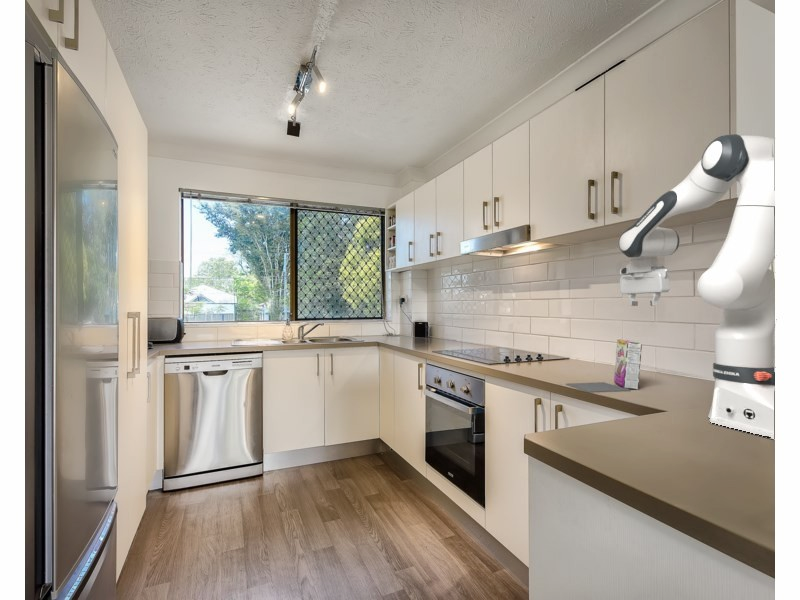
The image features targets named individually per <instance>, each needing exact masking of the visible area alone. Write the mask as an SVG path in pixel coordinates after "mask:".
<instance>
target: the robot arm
mask: <svg viewBox="0 0 800 600" xmlns="http://www.w3.org/2000/svg"><path fill="white" fill-rule="evenodd" d="M736 182H737V183H739V184H740V191H739V192H740V193H739V196H738V198H737V202H736V204H735V208H734V212H733V215H732V218H731V221H730V225H729V229H728V233H727V236H726V238H725V240H724V242H723V243H722V244H723V245H722V246H721V248H720V250H719V251H718V254H717V255H716V257H715V259H714V260H713V262H712V264H711V266H709V268H708V269H707V270H706V271H704V272H703V273H702V274H701V275H700V276H699V279H698V281H697V287H696V288H697V293H698V295H699V297H700V298H701V299H702V300H703V301H704V302H706V303H707V304H709V305H711V306H714V307H716V308H719V309H723V312H722V317H721V320H720V323H719V325H718V327H717V328H716V329H715V332H714V362H713V363H712V376H713V378H714V386H713V393H712V402H711V404H710V405H711V406H710V410H709V413H708V415H707V417H709V418H710V419H709V418H708V419H709V421H710V422H711V423H710V422H709V423H710V424H712V423H715V424H714V425H716V424H718V425H717V426H720V425H722V426H721V427H723V426H726V427H725V428H727V427H729V428H728V429H731V428H734V429H733V430H735V429H738V430H737V431H739V430H742V431H741V432H743V431H746V432H745V433H747V432H750V433H749V434H751V433H753V434H752V435H755V434H759V435H762V436H761V437H763V436H769V437H771V438H770V439H772V440H775V439H774V388H775V372H774V367H775V365H774V364H775V361H774V360H775V358H774V357H775V356H774V355H775V351H774V350H775V349H774V348H775V347H774V346H775V345H774V343H775V342H774V337H775V336H774V335H775V329H774V328H776V324H775V317H774V313H775V311H774V310H775V309H774V304H775V298H774V286H775V279H774V272H775V271H773V270H772V269H769V268H770V267H771V265H772V263H773V262H774V260H775V258H774V256H775V253H774V207H775V191H774V137H767V136H765V135H763V136H762V135H749V134H748V135H746V134H745V135H744V134H743V135H739V134H726V135H725V134H724V135H721V136H718V137H716V138H715V139H713V140H712V141H711V142H710V143H709V144H708V145H707V146H706V147H705V150H704V151H703V154H702V156H701V159H700V160H699V161H698V162H697V164H696V165H694V167H693V168H692V169H691V171H690V172H689V174H688V175H687V176H686V177H685V178H684V179H683V180H682V181H680V183H678V184H677V185H676V186H675V187H673V188H672V189H670V190H669V191H667V192H665V193H663V194H662V195H661V196H659V197H658V198H657V199H656V201H654V202H653V204H652V205H651V206H650V207H649V208H648V209H646V211H645V212H644V213H643V214H642V215H641V216H640V217H639V218H638V219H637V220H636V221H635V222H634V224H632V225H631V226H630V227H628V228H626V229H625V230H624V232H622V234H621V235H620V237H619V240H618V248H619V250H620V251H621V252H622V254H624V255H625V257H627V258H629V261H628V263H627V265H626V266H624V267H622V268H620V270H619V275H620V278H619V292H620V293H621V294H622V295H627V297H628V299H629V301H630V306H631V307H637V306H638V303H639V301H637V300H636V296H637V295H640V294H651V296H652V300H650V301H649V303H650V304H649V305H650V306H651V307H656V306H659V300H660V298H661V293H669V291H670V289H671V286H670V285H671V284H670V276H669V273H668V269H667V268H666V267H665V266H664V265H660V266H658V263H659V262H658V257H667V256H671V255H673V254H674V253H675V252H676V251H677V250H678V249H679V248H680V247H679V246H680V235H679V233H678V232H677V231H676V230H674V229H673V228H667V227H666V228H665V227H661V226H660V225H661V224H662V223H663V222H664V221H666V220H668V219H669V218H671V217H673V216H676V215H680V214H681V215H682V214H684V213H690V212H695V211H700V210H705V209H707V208H709V207H712V206H713V205H715V204H716V203H718V202H719V201H720V200H721V199H722V198H723V197H724V196H725V195H726V193H727V192H728V191H730V189H731V188H732V187H733V186H734V184H735V183H736ZM759 435H758V436H759Z"/></svg>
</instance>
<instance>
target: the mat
mask: <svg viewBox="0 0 800 600" xmlns="http://www.w3.org/2000/svg"><path fill="white" fill-rule="evenodd" d="M565 385H566V386H569V387H571V388H575V389H577V390H581V391H584V392H587V393H609V392H611V393H613V392H614V393H615V392H617V393H618V392H631V390H632V389H628V388H624V387H622V386H620V385H615V384H610V383H607V382H605V381H602V382H574V383H573V382H572V383H565Z"/></svg>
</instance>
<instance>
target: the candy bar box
mask: <svg viewBox="0 0 800 600" xmlns="http://www.w3.org/2000/svg"><path fill="white" fill-rule="evenodd" d="M616 340H617V342H616V351H615V364H614V365H615V366H614V378H613V382H614V383H615V384H617V386H619V387H622V388H626V389H630V390H639V383H640V375H641V374H640V371H641V362H642V361H641V360H642V348H643V347H642V346H643V343H642V342H637V341H634V340H630V339H621V338H620V339H616Z"/></svg>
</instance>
